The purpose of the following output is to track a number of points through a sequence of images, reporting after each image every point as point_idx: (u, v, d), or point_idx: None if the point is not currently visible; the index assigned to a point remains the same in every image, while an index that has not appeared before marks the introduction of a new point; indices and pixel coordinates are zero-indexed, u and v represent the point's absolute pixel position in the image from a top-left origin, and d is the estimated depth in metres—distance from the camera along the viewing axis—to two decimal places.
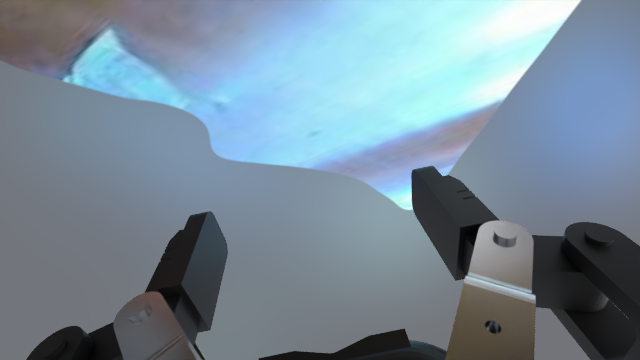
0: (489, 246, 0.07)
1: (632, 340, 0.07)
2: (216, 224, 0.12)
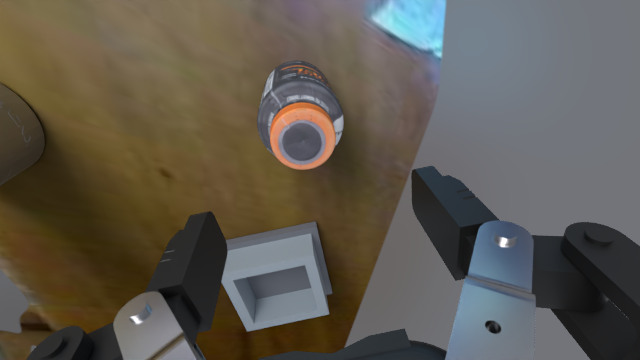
0: (489, 246, 0.07)
1: (632, 340, 0.07)
2: (216, 224, 0.12)
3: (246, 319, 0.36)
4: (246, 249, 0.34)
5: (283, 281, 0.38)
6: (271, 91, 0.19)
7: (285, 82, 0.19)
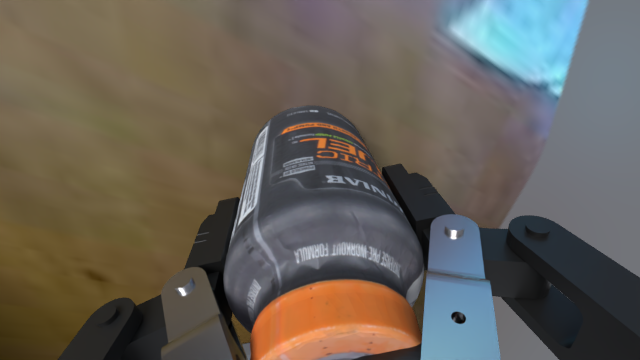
0: (442, 240, 0.08)
1: (576, 320, 0.07)
2: None
3: None
4: None
5: None
6: (255, 223, 0.08)
7: (291, 201, 0.07)
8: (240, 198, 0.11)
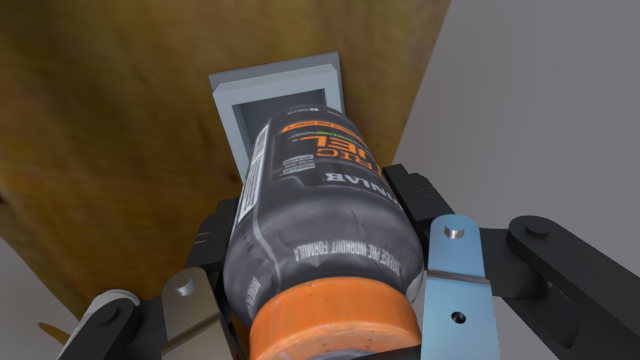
0: (443, 240, 0.08)
1: (576, 320, 0.07)
2: None
3: None
4: (249, 79, 0.27)
5: None
6: (255, 221, 0.08)
7: (290, 199, 0.07)
8: None
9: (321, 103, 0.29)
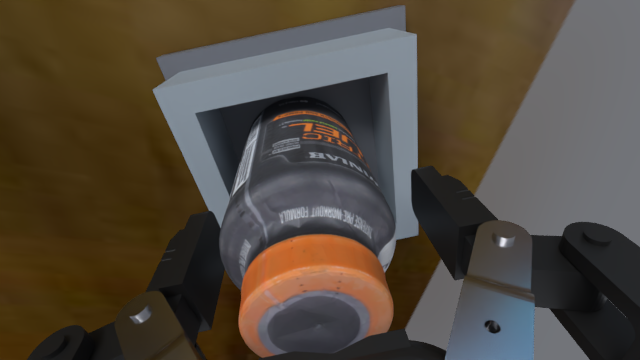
0: (488, 246, 0.07)
1: (631, 340, 0.07)
2: (217, 224, 0.12)
3: None
4: (234, 61, 0.14)
5: None
6: (246, 192, 0.09)
7: (277, 172, 0.09)
8: (235, 177, 0.12)
9: (367, 104, 0.16)
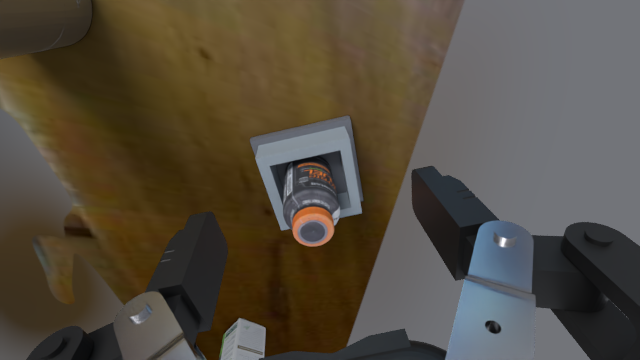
0: (489, 246, 0.07)
1: (632, 340, 0.07)
2: (216, 224, 0.12)
3: (280, 215, 0.36)
4: (281, 141, 0.35)
5: None
6: (292, 195, 0.29)
7: (301, 189, 0.29)
8: (284, 189, 0.33)
9: (337, 155, 0.37)
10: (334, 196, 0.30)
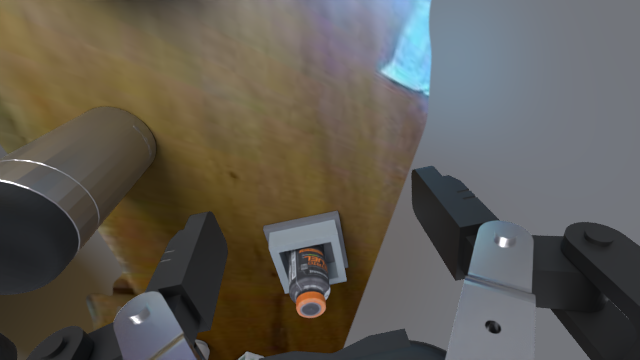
0: (489, 246, 0.07)
1: (632, 340, 0.07)
2: (216, 224, 0.12)
3: (285, 283, 0.48)
4: (286, 231, 0.47)
5: None
6: (296, 280, 0.41)
7: (302, 276, 0.41)
8: (289, 270, 0.44)
9: None
10: (326, 280, 0.42)
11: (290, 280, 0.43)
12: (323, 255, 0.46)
